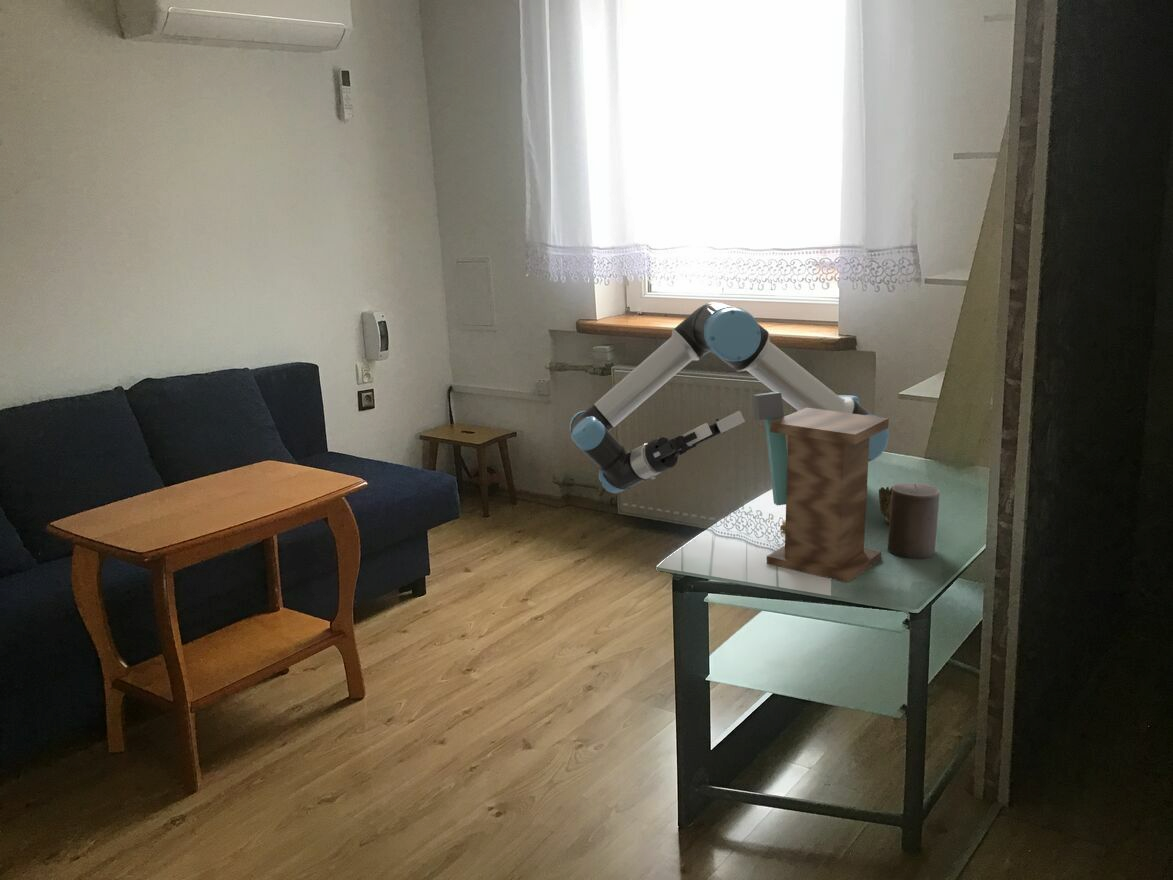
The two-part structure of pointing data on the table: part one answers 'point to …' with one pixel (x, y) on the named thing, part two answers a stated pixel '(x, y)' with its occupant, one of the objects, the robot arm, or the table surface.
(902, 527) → the pillar candle
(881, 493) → the cup
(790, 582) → the table surface
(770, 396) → the hammer
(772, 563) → the shelf stand
